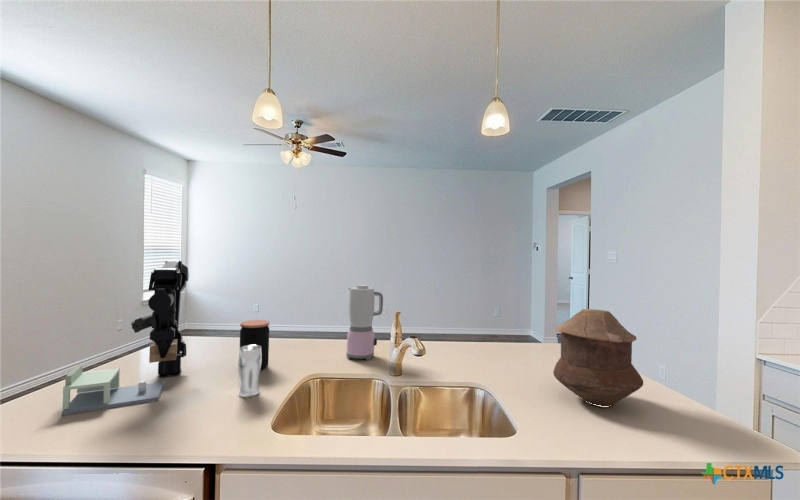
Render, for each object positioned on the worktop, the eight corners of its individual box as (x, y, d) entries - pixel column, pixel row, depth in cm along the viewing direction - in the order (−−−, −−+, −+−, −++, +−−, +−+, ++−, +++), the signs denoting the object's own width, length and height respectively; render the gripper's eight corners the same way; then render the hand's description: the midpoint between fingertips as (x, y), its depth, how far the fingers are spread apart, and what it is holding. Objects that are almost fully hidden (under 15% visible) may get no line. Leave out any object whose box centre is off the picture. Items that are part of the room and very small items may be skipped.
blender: (343, 360, 149) (345, 286, 149) (348, 352, 161) (350, 283, 161) (380, 362, 149) (382, 287, 149) (382, 353, 161) (384, 284, 161)
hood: (119, 386, 113) (119, 359, 113) (108, 402, 101) (109, 373, 101) (78, 391, 108) (79, 364, 108) (62, 409, 96) (63, 378, 96)
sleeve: (177, 353, 117) (177, 339, 117) (176, 359, 111) (176, 344, 111) (151, 356, 114) (152, 341, 114) (149, 362, 108) (149, 346, 108)
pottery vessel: (593, 424, 99) (596, 318, 99) (535, 389, 123) (537, 304, 124) (663, 414, 106) (665, 316, 106) (595, 383, 130) (597, 303, 130)
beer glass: (265, 391, 115) (266, 346, 115) (249, 399, 109) (251, 351, 109) (248, 388, 118) (249, 343, 118) (232, 396, 111) (233, 349, 111)
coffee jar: (274, 366, 140) (275, 321, 140) (252, 374, 130) (254, 326, 130) (254, 362, 144) (256, 318, 144) (232, 370, 134) (234, 323, 134)
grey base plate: (163, 384, 119) (164, 372, 119) (158, 400, 106) (158, 387, 106) (78, 395, 108) (79, 383, 108) (61, 415, 96) (62, 400, 96)
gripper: (137, 304, 117) (136, 350, 117) (129, 313, 101) (127, 367, 101) (177, 302, 122) (176, 346, 122) (175, 310, 106) (173, 362, 106)
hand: (163, 355), depth 113 cm, fingers closed on sleeve, 7 cm apart
